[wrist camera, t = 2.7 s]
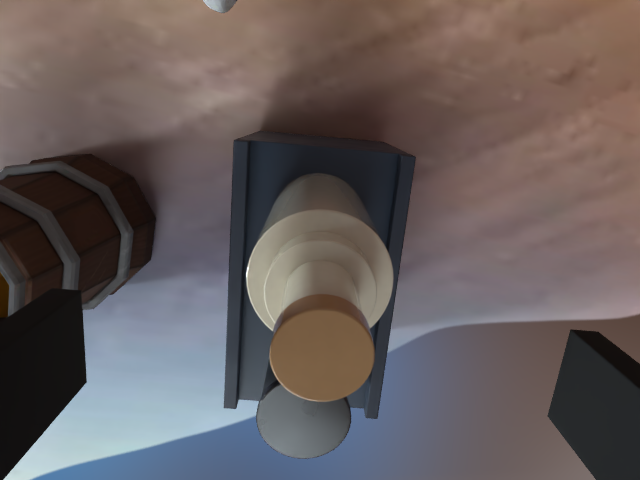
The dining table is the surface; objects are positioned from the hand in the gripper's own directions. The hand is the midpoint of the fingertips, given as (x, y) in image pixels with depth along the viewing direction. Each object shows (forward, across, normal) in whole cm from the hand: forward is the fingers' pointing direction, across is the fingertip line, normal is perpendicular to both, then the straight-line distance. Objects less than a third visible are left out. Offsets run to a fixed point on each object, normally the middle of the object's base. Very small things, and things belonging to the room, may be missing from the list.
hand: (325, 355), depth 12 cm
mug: (+26, -21, -6) cm, 34 cm away
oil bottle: (+15, 0, 0) cm, 15 cm away
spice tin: (+15, 0, -9) cm, 17 cm away
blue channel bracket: (+26, 0, -4) cm, 26 cm away
